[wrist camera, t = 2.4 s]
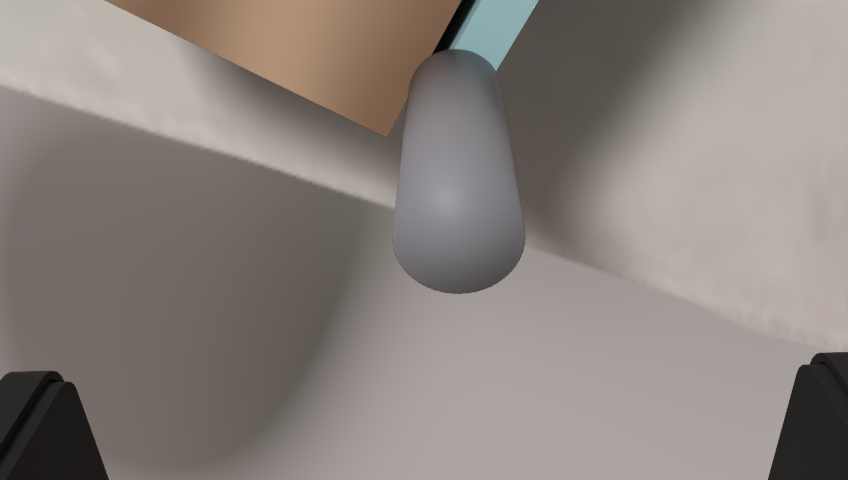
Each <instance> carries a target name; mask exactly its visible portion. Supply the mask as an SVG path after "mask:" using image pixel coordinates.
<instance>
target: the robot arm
mask: <svg viewBox="0 0 848 480" xmlns="http://www.w3.org/2000/svg"><path fill="white" fill-rule="evenodd" d="M0 480H109V479H108V476H107V473H106V470H105V467H104V465H103V462H102V459H101V456H100V454H99V451H98V448H97V445H96V442H95V439H94V437H93V434H92V431H91V428H90V425H89V423H88V420H87V417H86V414H85V411H84V409H83V406H82V403H81V400H80V398H79V395H78V392H77V389H76V387H75V386H74V384H72V383H71V382H64V380H63V378H62V376H61V375H60V374H59V373H58V372H55V371H29V372H28V371H27V372H10V373H8V374H6V375H5V376H4V377H3V378H2V379H1V380H0ZM768 480H848V352H835V353H818V354H816V355H815V356H814V357H813V358H812V361H811V363H810V365H802V366H801V367H800V368H799V369H798V372H797V375H796V378H795V382H794V386H793V389H792V393H791V397H790V400H789V404H788V408H787V412H786V415H785V419H784V422H783V426H782V430H781V434H780V437H779V441H778V444H777V448H776V452H775V455H774V459H773V463H772V467H771V470H770V474H769V478H768Z"/></svg>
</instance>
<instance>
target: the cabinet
mask: <svg viewBox="0 0 848 480" xmlns="http://www.w3.org/2000/svg"><path fill="white" fill-rule="evenodd" d="M105 1H107V2H109V3H111V4H113V5H115V6H117V7H119V8H121V9H123V10H125V11H127V12H130V13H132V14H134V15H136V16H138V17H140V18H142V19H144V20H146V21H148V22H150V23H152V24H154V25H156V26H158V27H160V28H162V29H164V30H167V31H169V32H171V33H173V34H175V35H177V36H179V37H181V38H183V39H185V40H187V41H189V42H191V43H193V44H195V45H197V46H199V47H201V48H204V49H206V50H208V51H210V52H212V53H214V54H216V55H218V56H220V57H222V58H224V59H226V60H228V61H230V62H232V63H234V64H236V65H238V66H241V67H243V68H245V69H247V70H249V71H251V72H253V73H255V74H257V75H259V76H261V77H263V78H265V79H267V80H269V81H271V82H273V83H275V84H278V85H280V86H282V87H284V88H286V89H288V90H290V91H292V92H294V93H296V94H298V95H300V96H302V97H304V98H306V99H308V100H310V101H312V102H315V103H317V104H319V105H321V106H323V107H325V108H327V109H329V110H331V111H333V112H335V113H337V114H339V115H341V116H343V117H345V118H347V119H349V120H351V121H354V122H356V123H358V124H360V125H362V126H364V127H366V128H368V129H370V130H372V131H374V132H376V133H378V134H380V135H382V136H384V137H387V135H388V133H389V132H390V130H391V128H392V126H393V124H394V122H395V121H396V119H397V117H398V115H399V113H400V111H401V110H402V108H403V106H404V104H405V102H406V101H407V99H408V91H409V84H410V81H411V78H412V76H413V74H414V72H415V71H416V69H417V68H418V66H419V65H420V64H421V63H422V62H423V61H424V60H425V59H427V58H428V57H430V56H431V55H432V53H433V51H434V49H435V48H436V46H437V44H438V42H439V40H440V39H441V37H442V35H443V33H444V31H445V29H446V28H447V26H448V24H449V22H450V20H451V18H452V17H453V15H454V13H455V11H456V9H457V8H458V6H459V4H460V2H461V0H105Z"/></svg>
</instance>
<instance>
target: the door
mask: <svg viewBox="0 0 848 480" xmlns="http://www.w3.org/2000/svg"><path fill="white" fill-rule="evenodd" d="M538 1H539V0H461V2H460V4H459V6H458V8H457V9H456V11H455V13H454V15H453V17H452V18H451V20H450V22H449V24H448V26H447V28H446V29H445V31H444V33H443V35H442V37H441V39H440V40H439V42H438V44H437V46H436V48H435V49H434V51H433V53H432V55H431V56H430V57H428V58H427V59H425V60H424V61H423V62H422V63H421V64H420V65H419V66H418V68H417V69H416V71H415V72H414V74H413V76H412V78H411V81H410V84H409V91H408V99H407V107H406V116H405V125H404V133H403V144H402V153H401V162H400V171H399V179H398V188H397V197H396V206H395V215H394V224H393V233H392V243H393V249H394V252H395V255H396V257H397V260H398V262H399V263H400V265H401V266H402V268H403V269H404V270H405V271H406V272H407V274H408V275H410V276H411V277H412V278H413V279H414V280H416V281H417V282H419V283H420V284H422V285H424V286H426V287H428V288H431V289H433V290H436V291H440V292H445V293H455V294H463V293H471V292H477V291H480V290H483V289H486V288H488V287H491V286H492V285H495V284H496V283H498V282H499V281H501V280H502V279H503V278H505V277H506V276H507V275H508V274H509V273H510V272H511V271H512V270H513V269H514V268H515V266H516V265H517V263H518V261H519V260H520V258H521V255H522V253H523V249H524V245H525V229H524V223H523V216H522V210H521V204H520V197H519V191H518V185H517V179H516V172H515V166H514V160H513V154H512V147H511V141H510V135H509V129H508V122H507V116H506V110H505V104H504V97H503V91H502V85H501V81H500V78H499V76H498V74H497V72H496V71H497V69H498V67H499V66H500V64H501V62H502V61H503V59H504V57H505V56H506V54H507V52H508V51H509V49H510V47H511V46H512V44H513V42H514V41H515V39H516V37H517V36H518V34H519V32H520V31H521V29H522V27H523V26H524V24H525V22H526V21H527V19H528V17H529V16H530V14H531V12H532V11H533V9H534V7H535V6H536V4H537V2H538Z"/></svg>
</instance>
